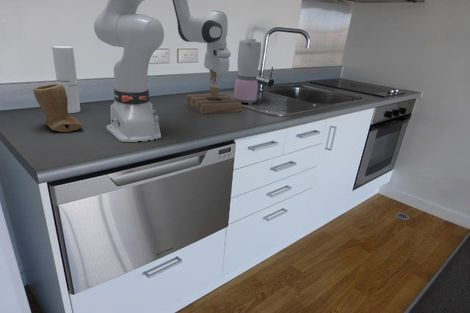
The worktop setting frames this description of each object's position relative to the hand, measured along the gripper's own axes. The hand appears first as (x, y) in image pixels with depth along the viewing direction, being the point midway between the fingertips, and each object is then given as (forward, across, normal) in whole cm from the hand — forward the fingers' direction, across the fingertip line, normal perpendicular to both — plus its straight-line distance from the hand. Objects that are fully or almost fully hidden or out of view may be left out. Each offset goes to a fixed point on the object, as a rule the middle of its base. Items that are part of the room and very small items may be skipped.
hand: (214, 81), depth 149 cm
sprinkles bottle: (+6, 0, 0) cm, 6 cm away
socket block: (+13, 0, 0) cm, 13 cm away
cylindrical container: (+12, -5, -62) cm, 64 cm away
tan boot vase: (+12, +16, -66) cm, 69 cm away
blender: (+13, -8, +22) cm, 27 cm away
